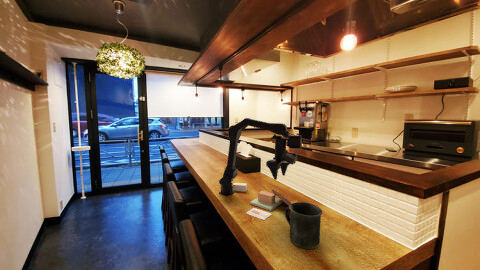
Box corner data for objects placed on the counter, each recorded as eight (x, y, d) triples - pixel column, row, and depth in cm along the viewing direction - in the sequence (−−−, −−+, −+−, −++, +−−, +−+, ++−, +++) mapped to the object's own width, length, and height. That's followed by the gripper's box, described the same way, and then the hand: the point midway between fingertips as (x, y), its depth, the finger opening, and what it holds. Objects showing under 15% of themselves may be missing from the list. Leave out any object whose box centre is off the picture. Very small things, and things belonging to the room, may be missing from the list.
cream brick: (232, 191, 119) (232, 184, 119) (234, 188, 123) (234, 182, 123) (245, 192, 118) (246, 185, 118) (247, 189, 122) (247, 183, 121)
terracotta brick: (257, 200, 103) (258, 192, 103) (261, 197, 106) (262, 190, 106) (271, 204, 98) (271, 196, 98) (275, 201, 101) (275, 194, 101)
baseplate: (250, 204, 101) (250, 201, 101) (262, 196, 111) (262, 194, 111) (270, 211, 94) (271, 208, 94) (282, 202, 103) (282, 200, 103)
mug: (307, 255, 64) (309, 219, 63) (275, 233, 76) (276, 203, 75) (327, 243, 70) (329, 210, 69) (294, 225, 82) (295, 196, 81)
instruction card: (245, 213, 91) (245, 212, 91) (253, 208, 97) (254, 207, 97) (264, 220, 85) (264, 219, 85) (272, 214, 91) (272, 213, 91)
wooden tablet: (314, 222, 82) (299, 207, 80) (311, 226, 82) (295, 212, 79) (284, 197, 108) (272, 186, 105) (282, 200, 107) (269, 189, 105)
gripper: (287, 151, 90) (286, 185, 91) (302, 147, 104) (301, 176, 106) (265, 149, 97) (265, 180, 98) (283, 145, 111) (282, 172, 113)
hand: (279, 177), depth 103 cm, fingers open, 9 cm apart
